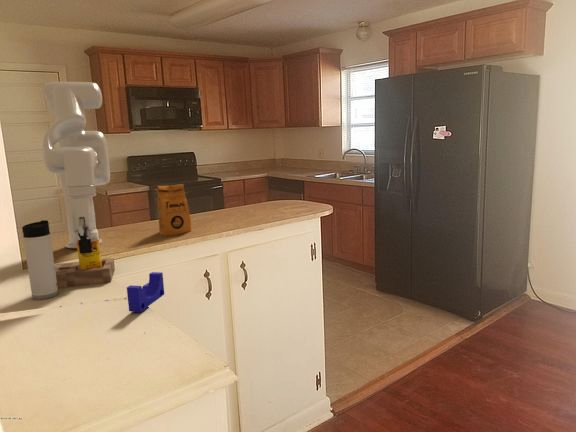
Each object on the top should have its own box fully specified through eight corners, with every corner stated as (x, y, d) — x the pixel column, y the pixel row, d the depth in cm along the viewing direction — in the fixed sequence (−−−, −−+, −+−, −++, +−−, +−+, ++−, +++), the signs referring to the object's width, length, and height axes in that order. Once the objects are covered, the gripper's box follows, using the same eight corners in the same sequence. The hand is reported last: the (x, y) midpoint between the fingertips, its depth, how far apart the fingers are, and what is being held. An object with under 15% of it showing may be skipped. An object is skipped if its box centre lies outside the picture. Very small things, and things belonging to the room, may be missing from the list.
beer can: (89, 282, 131) (83, 232, 129) (77, 279, 135) (70, 230, 132) (107, 276, 136) (101, 227, 134) (95, 273, 140) (89, 226, 137)
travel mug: (64, 292, 124) (55, 220, 120) (44, 300, 118) (33, 225, 114) (47, 290, 126) (37, 219, 122) (26, 298, 120) (15, 224, 116)
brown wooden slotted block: (57, 276, 138) (55, 264, 137) (115, 270, 142) (113, 258, 142) (47, 289, 127) (46, 275, 126) (110, 282, 131) (109, 268, 130)
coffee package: (193, 239, 182) (189, 184, 178) (162, 242, 177) (157, 187, 173) (189, 234, 191) (185, 182, 187) (159, 238, 186) (154, 184, 182)
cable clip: (149, 293, 120) (146, 271, 119) (164, 294, 119) (162, 272, 118) (123, 311, 109) (121, 287, 108) (140, 311, 108) (138, 288, 107)
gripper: (73, 188, 138) (80, 242, 141) (61, 196, 121) (69, 257, 125) (99, 186, 140) (105, 240, 143) (91, 194, 123) (98, 255, 127)
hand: (88, 248), depth 134 cm, fingers open, 9 cm apart
